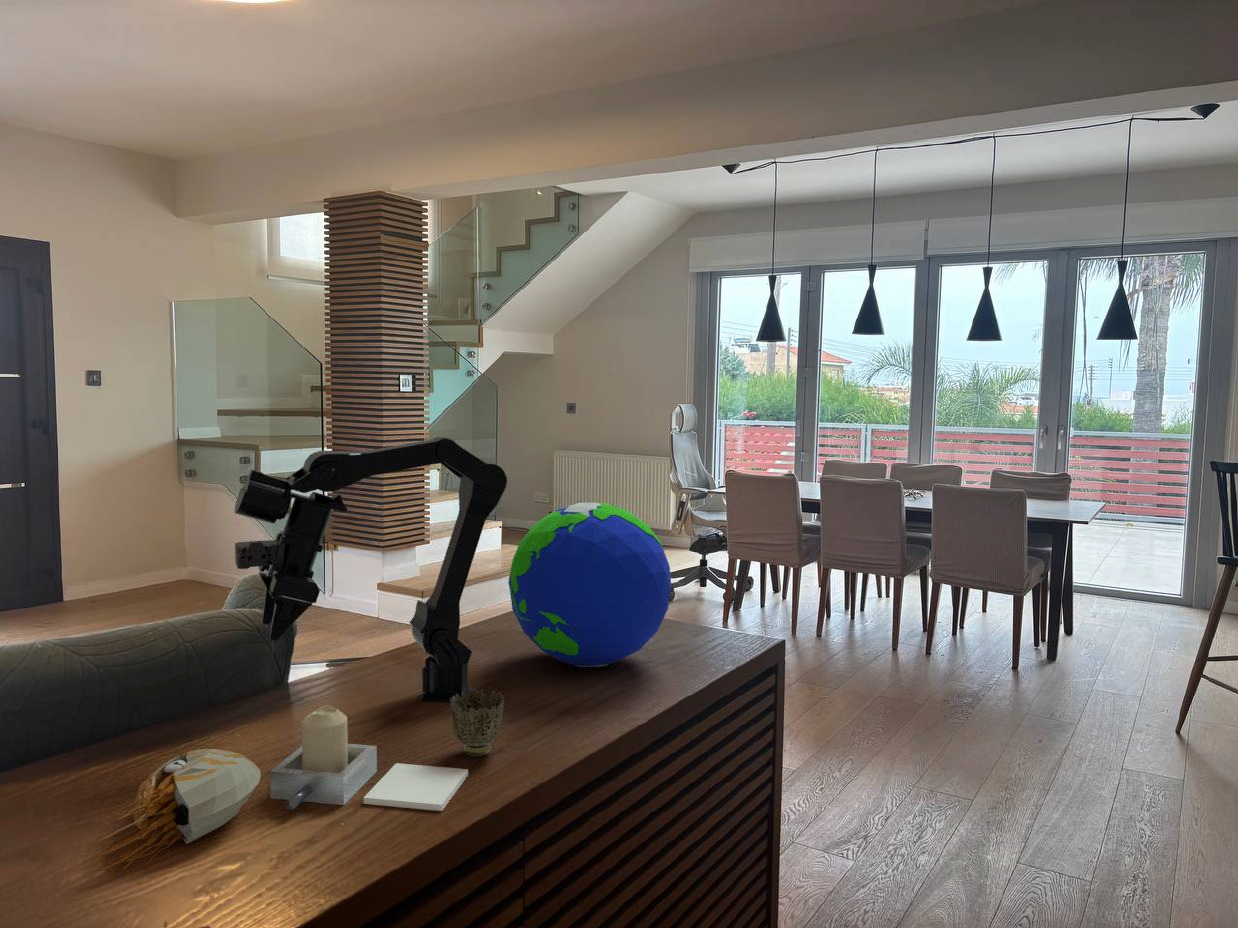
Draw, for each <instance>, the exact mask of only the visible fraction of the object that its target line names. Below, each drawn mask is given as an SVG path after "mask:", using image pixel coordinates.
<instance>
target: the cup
mask: <svg viewBox="0 0 1238 928" xmlns="http://www.w3.org/2000/svg"><path fill="white" fill-rule="evenodd" d="M449 704H450V710H451V719H452V726H453V730H454V734H455V737H456V739H457V740H458V741H459V742H460V743H461V744H463V751H464V753H465V754H466V755H467V756H469V757H474V758H475V757H476V758H477V757H478V758H479V756H480V757H484V756H485V755H487V754H489V752H490V750H491V747H492V746H491V743H493V741H495V740H496V739H497V738H498V736H499V733H500V730H501V726H502V720H503V712H504V711H503V710H504V704H505V696H503V695H502V692H496V691H495V690H492V691H491V693H490V695H489V694H484V690H483V689H480V690H479V692H478V691H477V689H476V688H471V690H470V691H469V692H468V693H467V694H466V693H465V691H463V692H462V694H461V697H460V696H459V695H458V694H457V693H456V695H455V697H454V696H452V700H451V699H450V702H449ZM483 755H484V756H483Z"/></svg>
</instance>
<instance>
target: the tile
mask: <svg viewBox="0 0 1238 928" xmlns="http://www.w3.org/2000/svg"><path fill="white" fill-rule="evenodd" d="M468 776H469V769H467V768H457V767H456V768H455V767H445V766H432V765H420V764H411V763H410V764H408V763H397V762H396V763H394V765H393V766H391V768H390V769H389V770H388V771H387V772H386V773H385V774H384V775H383V776H382V777H381V779H379V781H378V782H377V783H376V784H375V785H374V786H373V787H372V788H371V789H370V790H369V791H368V792H367V793H366V795H364V797H363V804H364V805H374V806H384V807H395V808H404V809H405V808H406V809H407V808H408V809H413V810H414V809H415V810H416V809H417V810H425V811H426V810H427V811H434V812H435V811H437V812H442V811H444V809H445V807H446V806H447V805H448V803H449V802H450V801H451V800H452V798H453V797H454V795H455V794H456V793H457V791H458V790H459V788H461V786H462V784H463V783H464V782H465V781H466V779H467V778H466V777H468ZM452 796H453V797H452ZM449 800H450V801H449Z"/></svg>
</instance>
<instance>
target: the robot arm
mask: <svg viewBox="0 0 1238 928" xmlns="http://www.w3.org/2000/svg"><path fill="white" fill-rule="evenodd" d="M436 464H441V465H442V466H444V467H445V468H446V469H447V470H448V471H450V473H451V474H454V475H455V476H456V477H457V478H459V479H460V481H459V487H458V507H459V509H458V514H457V517H456V520H455V524H454V527H453V531H452V533H451V536H450V539H449V542H448V546H447V548H446V552H445V555H444V557H443V561H442V564H441V567H440V570H439V574H438V577H437V580H436V583H435V587H434V588H433V589H434V590H433V591H432V594H431V595H430V596H429V598H428V599H427V600H426V602H424V601H422V600H417V602H416V604H415V605H416V606H415V612H414V615H413V617H412V619H411V620H410V621H409V624H410V625H411V626H412V628H411V634H412V637H413V639H414V641H415V642H416V643H417V644H418V645H419V646H420V647H421V648H422V649H423V650H424V652H425V653H426V654H427V655H428V657H427V658H425V660H424V663H425V665H424V666H423V667H422V669H421V673H422V674H421V675H422V676H421V677H422V679H421V682H422V683H421V684H422V687H421V689H422V693H423V694H422V695H421V697H420V699H421V700H422V701H423V700H424V701H434V702H435V701H436V702H438V701H439V702H449V703H450V699H451V700H452V696H454V697H455V695H456V693H457V694H458V695H459V696H460V697H461V694H462V692H463V691H465V693H466V694H468V693H469V692H470V691H471V690H472V686H470V685H468V678H469V677H468V673H469V671H468V668H469V667H468V666H469V665H468V663H469V661H470V659H471V656H472V650H471V649H470V648H469V647H468V646H467V645H465V644H464V643H463V642H462V641H461V640H459V639H458V638H459V633H460V626H461V613H460V612H461V611H460V610H461V609H460V603H461V599H462V595H463V592H464V590H465V586H466V583H467V579H468V577H469V573H470V570H471V567H472V565H473V564H472V563H473V561H474V558H475V554H476V551H477V548H478V545H479V541H480V539H481V535H482V532H483V529H484V525H485V523H486V520H487V519H488V517H489V516H490V515H491V513H492V512H493V511H494V510H495V508H496V507H497V506H498V504H499V502H500V501H501V499H502V496H503V494H504V492H505V491H506V488H507V484H508V477H507V475H506V473H505V470H504V469H503V468H502V467H501V466H500V465H498V464H495V463H491V462H488V461H483V459H480V458H478V457H477V456H476V455H474V454H472V453H471V452H469V451H468V450H466V449H465V448H463V447H462V446H460V445H459V444H458V443H457V442H456V441H455V440H454V439H453V438H450V437H444V436H436V437H434V438H431V439H427V440H421V441H416V442H409V443H403V444H399V445H392V446H388V447H381V448H375V449H370V450H363V451H362V450H361V451H357V450H356V451H354V450H352V451H351V450H319V451H315V452H312V453H311V454H309V456H307V458H306V459H305V461H304V463H303V466H302V467H301V468H300V469H298V470H296V471H295V472H293V473H292V474H290V475H288V477H285V479H282V478H279V477H274V476H271V475H267V474H265V473H263V472H261V471H260V470H255V469H250V470H249V473H248V477H247V478H246V480H245V481H244V483H243V486H242V487H240V489H239V492H238V495H237V498H236V500H235V501H236V502H235V505H234V514H235V515H236V514H237V515H239V516H244V517H248V518H251V519H253V520H254V519H255V520H259V521H262V522H265V523H270V524H275V523H276V522H277V520H279V521H281V520H284V519H285V517H286V516H287V513H288V511H289V514H288V516H287V519H286V523H285V525H284V528H283V530H280V531H279V532H277V534H276V537H275V539H273V540H272V539H271V540H253V541H252V540H250V541H239V542H235V543H234V557H235V558H234V559H235V561H234V562H235V565H236V568H237V570H238V569H239V570H247V569H250V568H254V567H258V570H259V572H258V575H259V576H260V578H261V581H262V582H263V584H264V586H265V589H264V598H263V599H264V600H263V609H262V610H263V611H262V619H261V623H262V624H264V625H268V626H269V625H270V632H269V640H270V641H275V642H276V641H279V639H280V638H281V637H282V636H283V635H284V634H285V633H286V631H288V630H289V628H291V626H292V625H293V624H294V623H295V622H296V621H297V620H298V619H299V618H300V617H301V616H302V615H303V614H304V613H305V611H307V610H308V609H309V608H311V607H312V605H313V604H316V603H317V600H318V599H319V598H318V597H319V595H320V592H321V590H320V589H319V586H318V585H317V583H316V581H315V580H314V579H313V577H314V574H315V571H314V570H313V568H314V564H315V561H316V559H317V556H318V553H322V551H323V548H324V545H323V544H322V541H323V539H324V537H325V533H326V530H327V527H328V524H329V521H330V518H331V516H332V513H333V510H335V511H338V512H341V513H347V512H348V507H346V505H345V503H344V501H343V497H342V494H340V493H335V494H334V495H331V496H330V495H325V494H322V493H320V492H316V491H317V490H319V491H321V492H324V493H332V492H336V491H338V490H341V489H345V488H347V487H349V486H352V485H354V484H356V483H359V482H361V481H363V480H365V479H368V478H370V477H373V476H378V475H382V474H388V473H393V472H399V471H404V470H410V469H415V468H420V467H425V466H430V465H432V466H433V465H436ZM292 491H295V492H299V493H302V494H299V493H295V492H292ZM310 492H311V494H310V495H309V496H306V495H303V494H306V493H310ZM292 499H294V500H293V502H292ZM291 502H292V506H291ZM290 506H291V508H290ZM289 509H290V510H289Z"/></svg>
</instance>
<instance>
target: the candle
mask: <svg viewBox="0 0 1238 928" xmlns="http://www.w3.org/2000/svg"><path fill="white" fill-rule="evenodd" d="M348 734H349V733H348V716H347V715H346V714H344V712H342V711H340V710H339V708H335V707H333V706H332V705H330V704H325V705H322V706H320V707H318V708H317V709H315V710H314V711H313V712H311V713H309V714H308V715H307V716H305V717H304V718H303V719H302V721H301V746H302V761H303V770H306V771H318V772H329V773H341V772H342V771H343V770H344V769H345V768H346V767H347V766H348V744H349V743H348V740H349V739H348V738H349V737H348V736H349V735H348Z"/></svg>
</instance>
